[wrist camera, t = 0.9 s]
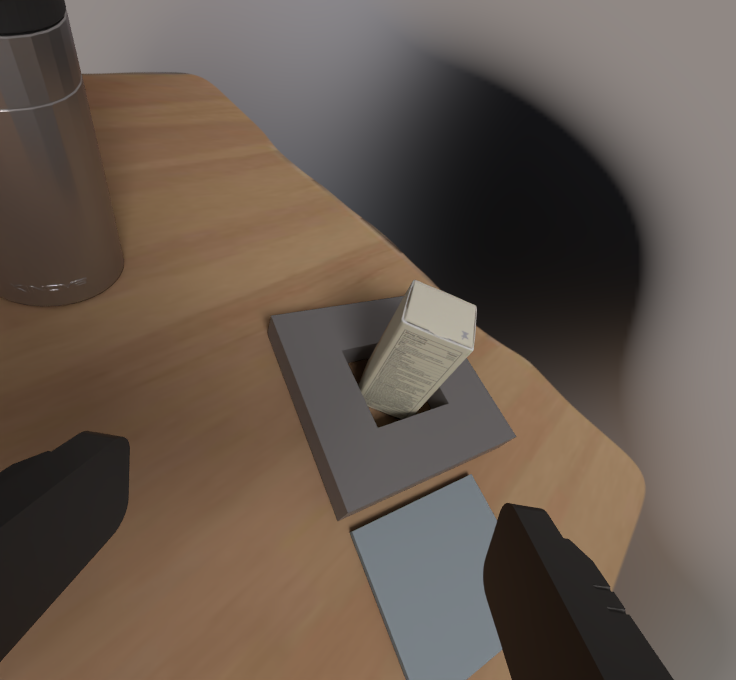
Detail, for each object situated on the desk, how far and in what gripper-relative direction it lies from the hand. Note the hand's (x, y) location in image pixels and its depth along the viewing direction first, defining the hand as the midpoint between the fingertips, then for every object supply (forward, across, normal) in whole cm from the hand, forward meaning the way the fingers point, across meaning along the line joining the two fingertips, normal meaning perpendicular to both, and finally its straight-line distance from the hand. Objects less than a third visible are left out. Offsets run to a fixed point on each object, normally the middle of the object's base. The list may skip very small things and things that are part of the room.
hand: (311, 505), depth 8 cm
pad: (+14, -9, +15) cm, 23 cm away
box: (+24, -4, +7) cm, 26 cm away
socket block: (+24, -4, +7) cm, 25 cm away
